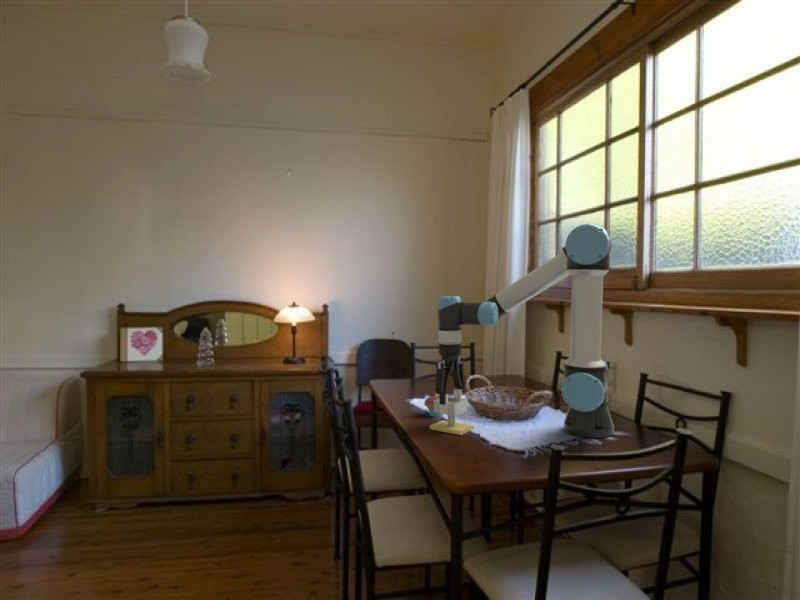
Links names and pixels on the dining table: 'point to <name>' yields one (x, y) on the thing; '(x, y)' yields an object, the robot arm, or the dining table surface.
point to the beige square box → (452, 406)
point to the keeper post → (451, 426)
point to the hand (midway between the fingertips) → (451, 410)
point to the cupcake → (432, 405)
